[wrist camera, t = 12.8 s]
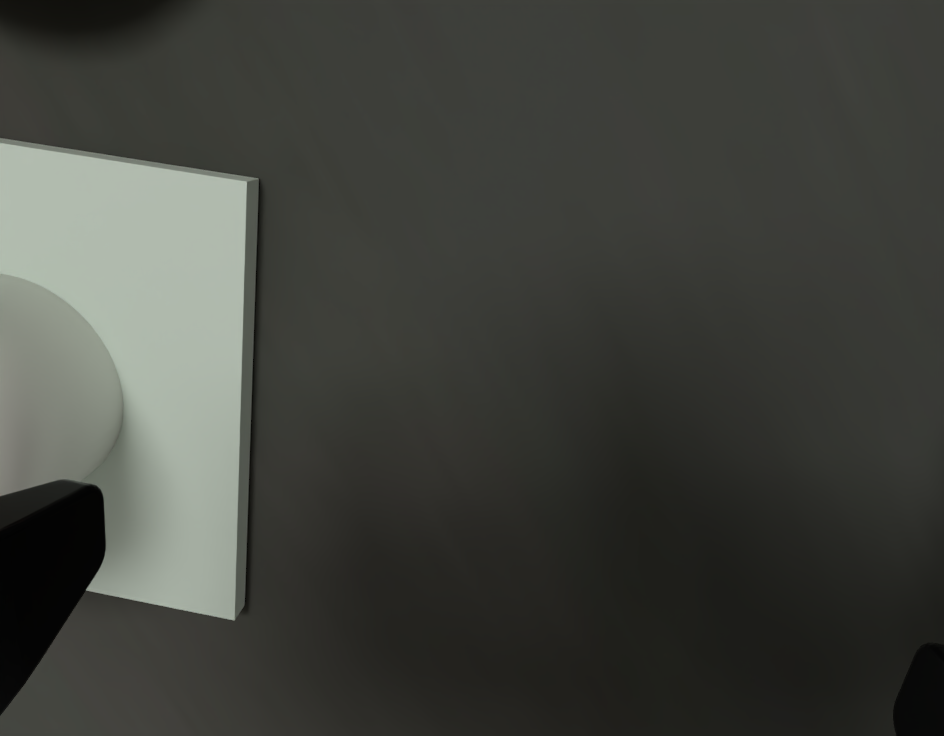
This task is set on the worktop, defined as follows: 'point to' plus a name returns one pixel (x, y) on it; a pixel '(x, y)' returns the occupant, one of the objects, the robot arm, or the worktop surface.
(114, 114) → the worktop surface
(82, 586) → the robot arm
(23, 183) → the mat
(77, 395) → the bottle
